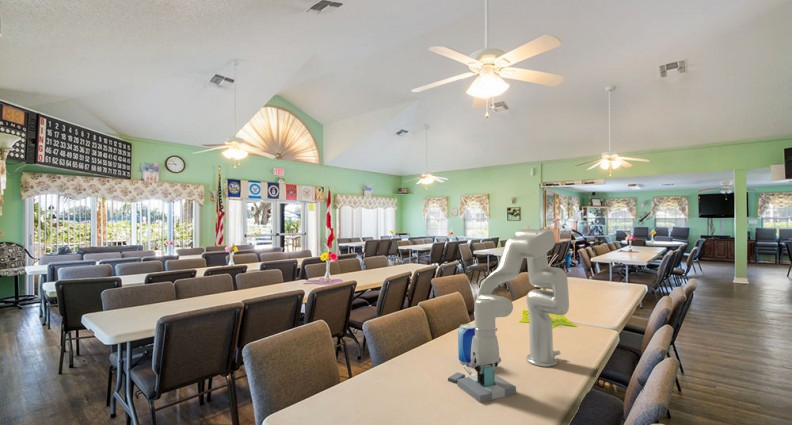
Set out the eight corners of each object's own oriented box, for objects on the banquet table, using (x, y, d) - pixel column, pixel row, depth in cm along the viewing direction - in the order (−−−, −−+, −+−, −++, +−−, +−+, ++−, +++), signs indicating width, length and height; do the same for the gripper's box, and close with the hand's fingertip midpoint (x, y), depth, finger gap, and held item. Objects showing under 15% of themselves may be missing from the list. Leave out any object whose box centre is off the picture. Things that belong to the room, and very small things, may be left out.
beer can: (466, 367, 151) (466, 329, 152) (454, 360, 159) (454, 325, 159) (481, 363, 155) (481, 327, 156) (469, 357, 163) (469, 322, 163)
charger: (486, 383, 134) (486, 361, 134) (493, 388, 130) (493, 365, 131) (478, 385, 132) (477, 363, 133) (484, 390, 129) (484, 367, 129)
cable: (463, 367, 151) (463, 364, 151) (465, 367, 152) (465, 364, 152) (472, 378, 141) (472, 375, 141) (475, 378, 141) (475, 375, 141)
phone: (457, 374, 144) (457, 372, 144) (465, 377, 142) (465, 374, 142) (448, 380, 139) (447, 377, 139) (455, 383, 136) (455, 380, 136)
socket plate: (491, 377, 141) (491, 371, 141) (516, 393, 128) (516, 386, 128) (457, 385, 134) (457, 379, 135) (480, 402, 122) (479, 395, 122)
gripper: (496, 326, 139) (497, 374, 138) (460, 332, 132) (461, 382, 131) (509, 332, 132) (510, 381, 131) (472, 338, 125) (473, 390, 125)
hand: (485, 381), depth 131 cm, fingers closed on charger, 3 cm apart
